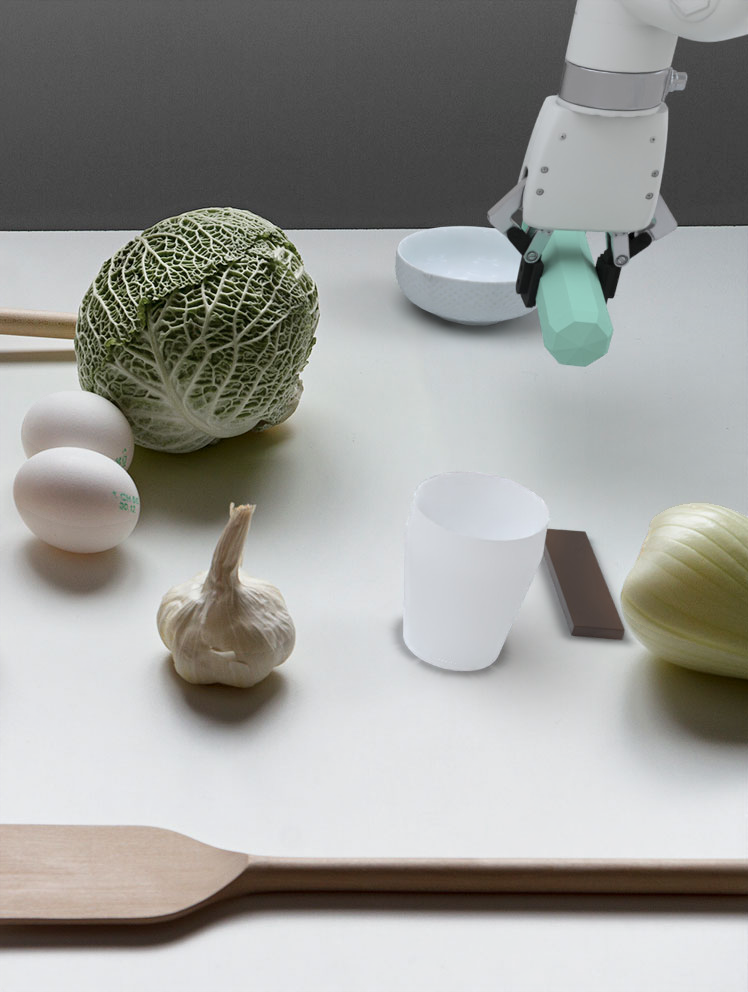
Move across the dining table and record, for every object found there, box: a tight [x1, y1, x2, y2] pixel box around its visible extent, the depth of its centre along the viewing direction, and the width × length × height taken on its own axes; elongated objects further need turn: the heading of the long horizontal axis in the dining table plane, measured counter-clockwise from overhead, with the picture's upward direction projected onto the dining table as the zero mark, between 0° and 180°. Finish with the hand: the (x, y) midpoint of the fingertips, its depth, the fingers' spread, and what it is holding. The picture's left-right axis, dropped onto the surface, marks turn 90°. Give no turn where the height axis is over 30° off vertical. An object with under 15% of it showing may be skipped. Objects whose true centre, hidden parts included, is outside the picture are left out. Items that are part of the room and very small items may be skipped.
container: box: [520, 220, 614, 368], centre depth 109 cm, size 6×6×25 cm
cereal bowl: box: [394, 225, 537, 326], centre depth 141 cm, size 17×17×7 cm
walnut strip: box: [543, 528, 626, 641], centre depth 99 cm, size 4×13×1 cm, turn 171°
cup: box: [402, 471, 550, 672], centre depth 90 cm, size 9×9×12 cm
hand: (561, 301), depth 110 cm, fingers closed on container, 4 cm apart
